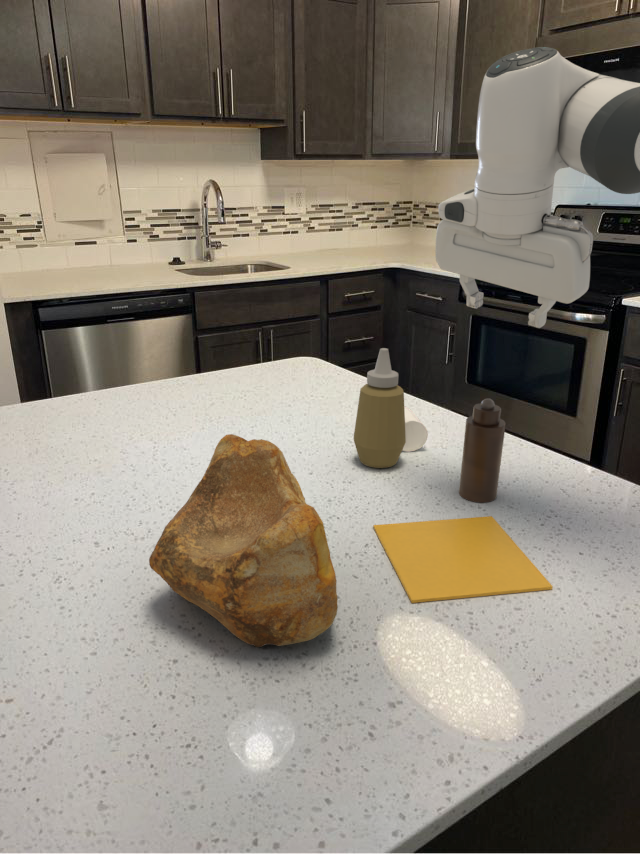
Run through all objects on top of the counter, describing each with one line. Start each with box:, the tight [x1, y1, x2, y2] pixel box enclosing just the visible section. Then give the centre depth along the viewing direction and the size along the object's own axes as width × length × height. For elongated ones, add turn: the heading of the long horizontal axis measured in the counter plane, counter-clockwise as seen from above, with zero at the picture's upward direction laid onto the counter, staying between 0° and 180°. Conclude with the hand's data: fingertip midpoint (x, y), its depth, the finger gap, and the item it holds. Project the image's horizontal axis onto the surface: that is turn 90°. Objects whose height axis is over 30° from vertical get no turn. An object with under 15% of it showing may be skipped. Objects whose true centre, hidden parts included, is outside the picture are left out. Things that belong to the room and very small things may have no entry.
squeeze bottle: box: [353, 347, 406, 469], centre depth 100 cm, size 8×8×18 cm
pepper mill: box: [458, 397, 506, 504], centre depth 91 cm, size 5×5×14 cm
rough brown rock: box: [148, 433, 339, 648], centre depth 67 cm, size 23×17×15 cm
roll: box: [402, 405, 429, 453], centre depth 112 cm, size 6×12×6 cm, turn 10°
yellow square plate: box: [372, 515, 553, 604], centre depth 78 cm, size 16×16×1 cm
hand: (504, 315), depth 86 cm, fingers open, 8 cm apart
